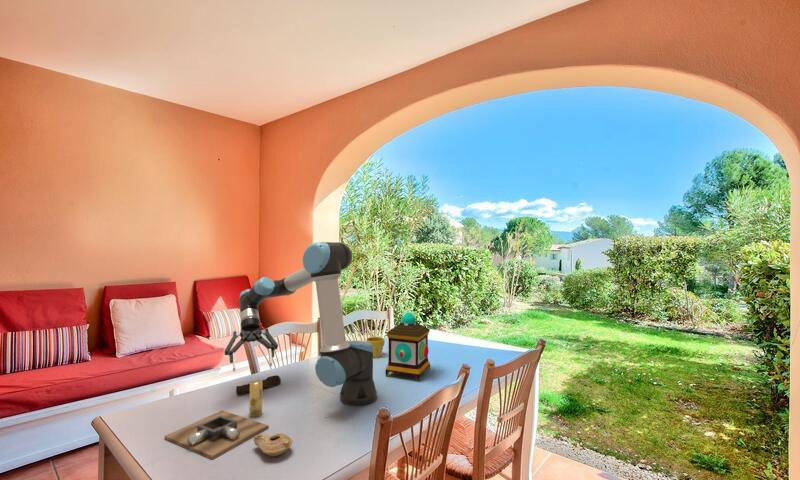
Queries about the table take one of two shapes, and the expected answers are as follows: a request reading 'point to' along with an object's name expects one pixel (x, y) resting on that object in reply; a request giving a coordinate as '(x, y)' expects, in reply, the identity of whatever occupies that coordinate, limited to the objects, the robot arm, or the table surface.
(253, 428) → the mounting board
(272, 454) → the pottery oil lamp
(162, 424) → the table surface
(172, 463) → the table surface
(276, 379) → the hand tool
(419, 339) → the decorative lantern
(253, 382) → the cylinder
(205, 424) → the socket housing
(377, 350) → the plant pot
